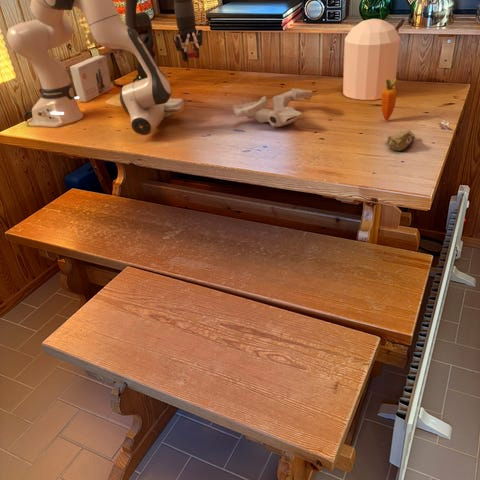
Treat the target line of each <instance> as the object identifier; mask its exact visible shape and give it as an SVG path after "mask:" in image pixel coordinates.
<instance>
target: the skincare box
mask: <svg viewBox="0 0 480 480" xmlns="http://www.w3.org/2000/svg"><path fill="white" fill-rule="evenodd" d="M69 70H70V74H71V78H72V82H73V86H74V90H75V94H76V97H79V98H77V102H81V103H82V102H84V103H87V102H89V101H91V100H93V99H95V98H97V97H100V96H101V95H103V94H105V93H107V92H108V91H110V90H112V89H113V86H112V82H111V81H110V80H111V76H110V72H109V71H110V70H109V66H108V62H107V57H106V55H100V54H99V55H95V56H92V57H90V58H87V59H85V60H83V61H80V62H78V63H75V64H73V65H71V66H69Z"/></svg>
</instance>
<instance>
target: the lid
mask: <svg viewBox="0 0 480 480" xmlns="http://www.w3.org/2000/svg"><path fill="white" fill-rule="evenodd" d="M186 52H187V56H188V59H192V58H195V57H196V56H197V55H198V54H197V51H194V50H193V49H192V50H186Z"/></svg>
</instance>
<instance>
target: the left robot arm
mask: <svg viewBox="0 0 480 480" xmlns="http://www.w3.org/2000/svg"><path fill="white" fill-rule="evenodd" d="M29 8H30V11H31V13H32V15H33V17H34V18H35V19H31V20H27V21H22V22H19V23H16V24H14V25H13V26H11V27H8V30H7V32H6V40H7V43H8V46H9V47H10V48H11V50H12V51H13V52H15V54H18V55H19V56H22V57H23V58H25V60H27V61H28V62H29V63H30V64H31V65H32V67H33V68H34V70H35V72H36V74H37V77H38V80H39V82H40V85H41V87H40V88H39V90H37V91H36V92H37V95H39V94H40V97H39V99H38V100H37V101H36V103H35V104H34V105H33V106H32V107H30V108H29V109H28V110H27V111H26V112H25V114H24V116H23V117H24V118H23V119H24V121H25V122H28V126H30V127H31V126H32V127H49V128H58V127H62V126H64V125H68V124H71V123H75V122H77V121H80V120H81V119H82V118H83V117H84V113H83V112H82V111H81V108H80V106H79V105H78V101H77V100H78V98H79V97H77V96H76V95H75V92H74V89H73V84H72V83H71V81H70V78H69V75H68V72H67V68H66V65H65V64H64V63H63V61H61V60H59V59H57V58H54V57H51V55H50V53H49V50H51V49H55V48H59V47H62V46H64V45H66V44H68V43H69V42H71V40H72V39H73V28H72V26H71V24H70V22H69V21H68V20H67V19H66V17H64V13H65V11H72V10H73V8H75V9H76V8H77V9H78V10H80V12H81V13H82V15H83V17H84V19H85V22H86V24H87V26H88V29H89V31H90V33H91V36H92V37H93V39H94V41H96V43H97V44H98V45H99V46H102V47H104V48H107V49H111V50H124V51H128V52H129V53H130V52H131V53H132V54H133V55H134V56H135V58H136V57H137V59H138V61H139V62H140V64H141V66H142V67H143V69H144V71H145V72H146V74H147V76H148V77H147V78H145V79H142V80H139V81H137V80H135V82H133V81H132V82H133V83H132V82H129V83H127V84H123V85H124V86H123V87H121V90H120V93H119V102H120V105H121V107H122V109H123V111H124V112H125V113H126V115H128V116H129V117H130V126H131V129H132V130H133V131H134V132H135V133H136V134H138V135H141V136H148V135H150V134H152V133H153V132H154V131H155V130H156V129H157V128H158V127H159V125H160V123H162V120H163V119H164V118H165V117H164V116H165V114H166V113H171V114H177V113H180V112H181V111H183V110H184V108H185V101H184V99H183V98H181V97H180V98H175V97H174V98H172V97H171V96H172V93H173V90H172V86H171V84H170V82H169V80H168V79H167V77H166V76H165V73H164V72H163V71H162V72H163V73H164V74H163V73H162V72H161V70H162V69H161V68H160V67H159V65H158V63H157V64H156V62H155V60H154V59H153V57H152V55H151V53H150V52H149V50H148V48H147V47H146V45H145V43H144V42H143V40H142V39H141V37H142V36H141V35H139V34H138V33H137V32H136V31H135V30H134V29H131V28H129V27H127V26H126V24H125V21H124V20H123V19H122V18H121V15H120V13H119V10H118V9H117V6H116V4H115V3H114V1H113V0H30V3H29ZM76 99H77V100H76ZM28 118H31V119H30V120H29V121H28Z"/></svg>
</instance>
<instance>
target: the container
mask: <svg viewBox="0 0 480 480" xmlns="http://www.w3.org/2000/svg"><path fill="white" fill-rule="evenodd" d="M400 42H401V37H400V35H399V34H398V31H397V29H396V27H395V26H394V25H393V24H391V23H390V22H388V21H386V20H384V19H380V18H370V19H365V20H362V21H361V22H359V23H358V24H356V25H354V26H353V27H352V28H351V29H350V30H349V32H348V33H347V35H346V36H345V38H344V47H343V51H344V52H343V53H344V54H343V79H342V80H343V81H342V95H344V96H345V97H347V98H350V99H353V100H360V101H373V100H381V98H382V91H383V90H384V89H386V88H387V87H386V85H387V83H386V79H390V82H391V84H393V82H394V80H395V79H397V78H396V77H397V70H398V60H399V53H400V52H399V51H400ZM389 86H390V85H389ZM391 86H392V85H391ZM393 88H394V89H395V90H396V83H395V84H394V86H393Z"/></svg>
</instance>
